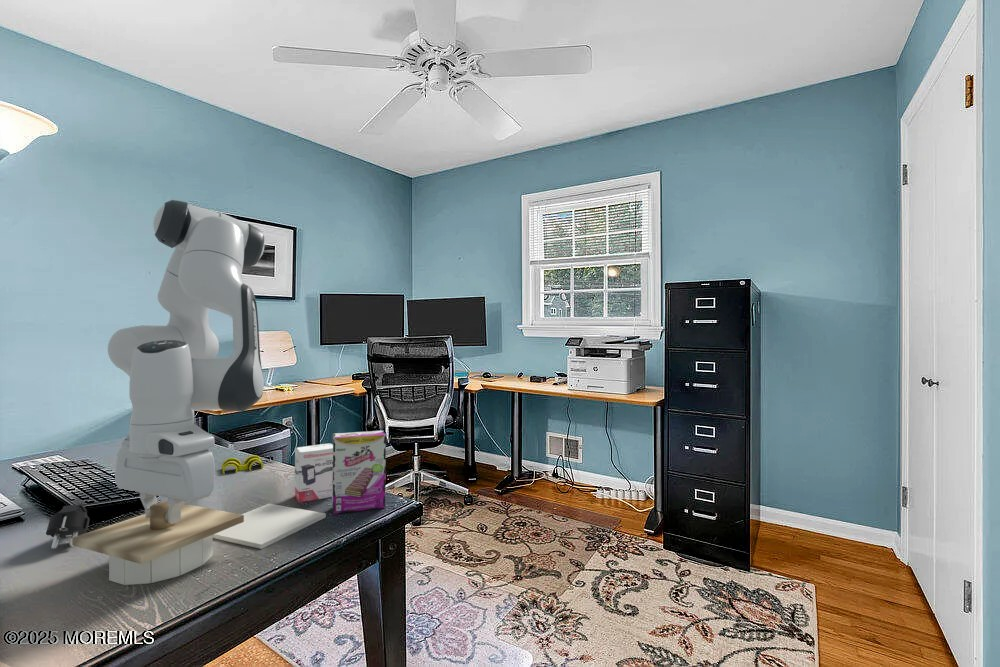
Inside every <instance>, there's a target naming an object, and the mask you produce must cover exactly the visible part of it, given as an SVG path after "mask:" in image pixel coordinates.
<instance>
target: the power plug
mask: <svg viewBox="0 0 1000 667" xmlns="http://www.w3.org/2000/svg"><path fill="white" fill-rule="evenodd" d="M47 524H48V525H47V529H46V531H45V534H46V535H47V536H50V537H52V538H53V539H52V544H51V547H50V549H52V550H55V549H57V548H58V545H59V541H60V539H64V538H66V539H67V538H70V537H71V538H70V542H69V547H74V546H73V545H72V538H73V537H76V536H79V535H82V534H85V533H88V528H89V526H90V525H89V524H90V517H89V516H88V510H87V508H86V507H85V506H84V504H82V503H78V504H71V505H70V504H69V505H64V506H62V509H61V510H59V511H57V512H56V513H55V514H53V515H51V516H50V519H49V521H48V523H47Z"/></svg>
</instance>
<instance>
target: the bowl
mask: <svg viewBox="0 0 1000 667" xmlns="http://www.w3.org/2000/svg"><path fill="white" fill-rule="evenodd" d="M213 555H214V538H213V535H211V536H208V537H206V538H204V539H201V540H199V541H196V542H194V543H191V544H189V545H187V546H184V547H182V548H179V549H177V550H175V551H172V552H170V553H167V554H165V555H162V556H160V557H158V558H155V559H153V560H150V561H148V562H146V563H143V564H139V563H135V562H131V561H128V560H124V559H121V558H117V557H113V556H110V555H108V580H109V581H111V582H114V583H117V584H120V585H123V586H129V585H131V586H132V585H145V584H154V583H157V582H160V581H165V580H169V579H173V578H176V577H180V576H182V575H185V574H187V573H189V572H191V571H194V570H195V569H198V568H199V567H202V566H204V565H205V563H206V562H208V560H210V559H211V558H212V557H213Z"/></svg>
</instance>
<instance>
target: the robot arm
mask: <svg viewBox="0 0 1000 667" xmlns="http://www.w3.org/2000/svg"><path fill="white" fill-rule="evenodd" d="M152 224H153V231H154V236H155V238H156V239H157V241H158V242H160V243H162V244H163V245H164V246H166V247H169V248H171V249H174V250H173V252H172V254H171V257H170V259H169V261H168V264H167V267H166V269H165V272H164V275H163V278H162V281H161V282H160V286H159V289H158V292H157V300H158V302H159V304H160V306H161V307H162V308H163V309H165V311H167V312H168V313H169V320H168V323H167V324H166V325H144V324H143V325H135V326H130V327H125V328H122V329H118V330H116V331H115V332H113V335H111V337H110V339H109V341H108V344H107V354H108V357H109V359H110V362H112V364H113V365H114V366H116V368H118V369H120V370H122V371H123V372H124V373H126V375H127V376H128V377H129V389H128V390H129V394H128V395H129V400H130V402H131V406H132V411H131V416H130V419H129V434H127V435H126V437H125V438H124V439H123V440H122V442H121V447H120V448H119V450H118V452H117V455H116V464H115V473H114V475H115V482H116V485H117V487H118V488H117V489H118V490H121V489H124V490H130V491H135V492H136V493H139V499H140V501H141V504H142V506H143V508H144V512H145V513H144V514H145V517H146V518H147V519H150V506H151V505H153V504H156V503H159V501H158V498H157V497H162V498H167V501H168V504H170V507H169V510H168V512H166V513H164V517H165V519H164V521H165V522H166V523H170V524H174V523H177V522H179V521H180V520H181V510H182V508H183V506H184V504H186V503H187V502H189V503H194V502H198V501H201V500H203V499H206V498H209V497H210V496H211V495H212V494H213V492H214V490H215V478H216V477H215V474H216V473H215V472H216V469H215V457H214V455H213V452H212V451H211V450H212V449H214V448H215V442H216V441H215V436H213V434H210V433H209V432H207V431H205V430H204V429H202V428H201V427H200V426H198V424H197V423H196V422H195V411H214V410H215V411H217V410H218V411H219V410H222V411H227V412H229V411H231V412H245V411H247V410H249V409H250V408H251V407H253V406H254V405H255V404H257V403H258V402H259V400H260V399H261V398H263V394H264V389H265V388H264V387H265V382H264V379H265V378H264V375H263V367H262V361H261V349H260V348H261V347H260V346H261V345H260V331H259V330H260V329H259V314H258V305H257V301H256V296H255V294H254V291H253V290H252V287H251V286H249V285H247V284H246V283H244V280H243V275H242V274H243V268H250V267H252V266H255V265H257V263H258V261H259V260H260V259H261V257H262V256H263V255H264V250H265V235H264V234H263V231H262V230H260V228H257V227H256V226H254V225H252V224H250V223H248V224H247V223H246V222H243V221H242V220H239V219H237V218H235V217H233V216H230V215H227V214H224V213H223V212H217V211H214V210H211V209H207V208H204V207H200V206H198V205H197V206H196V205H193V204H189V203H188V202H186V201H181V200H175V199H171V200H168V201H166V202H164V203H163V205H162V206H161V207H160V208H158V210H157V211H156V213H155V216H154V219H153V223H152ZM210 309H211V310H212V311H213V310H214V311H215V312H220V313H222V314H224V315H226V316H228V317H230V318H231V319H232V337H233V338H232V340H233V344H232V346H233V352H232V354H230V355H229V356H227V357H217V356H218V354H219V349H220V343H219V339H218V337H217V336H216V334H215V332H213V331H212V329H211V326H210V323H209V322H210V321H209V318H210V317H209V316H210V315H209V314H210ZM210 449H211V450H210ZM135 492H134V493H135Z"/></svg>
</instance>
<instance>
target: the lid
mask: <svg viewBox="0 0 1000 667" xmlns="http://www.w3.org/2000/svg"><path fill="white" fill-rule="evenodd" d="M169 507H170V504H168V500H166V501H160V502H158V503H156V504H153V505H151V506H150V519H147V518H146V517H145V513H144V514H141V515H138V516H135V517H132V518H128V519H126V520H123V521H119V522H116V523H114V524H110V525H106V526H104V527H101V528H97V529H95V530H91V531H89V532H88V531H87V532H86V533H85V534H82V535H79V536H76V537H73V538H72V545H73V547H77V548H82V549H85V550H89V551H93V552H95V553H100V554H102V555H103V554H104V555H108V556H109V555H110V556H113V557H117V558H121V559H124V560H128V561H131V562H135V563H139V564H143V563H146V562H148V561H150V560H153V559H155V558H158V557H160V556H162V555H165V554H167V553H170V552H172V551H175V550H177V549H179V548H182V547H184V546H187V545H189V544H191V543H194V542H196V541H199V540H201V539H204V538H206V537H208V536H211V535H213V534H216V533H218V532H220V531H223V530H225V529H228V528H230V527H233V526H235V525H237V524H240V523H242V522H244V515H241V513H240V514H239V513H234V512H231V511H224V510H219V509H213V508H209V507H203V506H198V505H194V504H189V503H185V504H184V506H183V508H182V510H181V520H180V521H179V522H177V523H174V524H170V523H166V522H165V521H164V519H165V517H164V513H166V512H168V510H169Z"/></svg>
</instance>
